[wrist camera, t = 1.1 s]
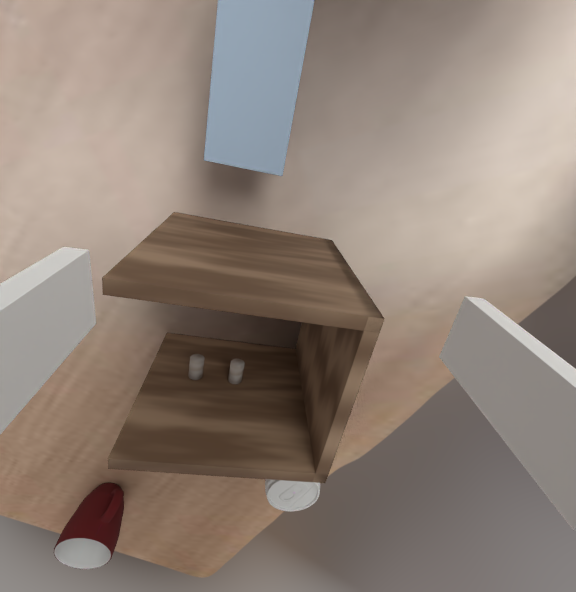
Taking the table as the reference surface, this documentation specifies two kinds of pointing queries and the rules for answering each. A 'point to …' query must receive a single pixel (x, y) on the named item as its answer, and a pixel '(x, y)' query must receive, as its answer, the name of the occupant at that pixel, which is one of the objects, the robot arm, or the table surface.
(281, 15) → the shelf board
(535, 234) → the table surface
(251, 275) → the bookcase frame
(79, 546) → the mug
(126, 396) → the table surface
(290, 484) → the beverage can
